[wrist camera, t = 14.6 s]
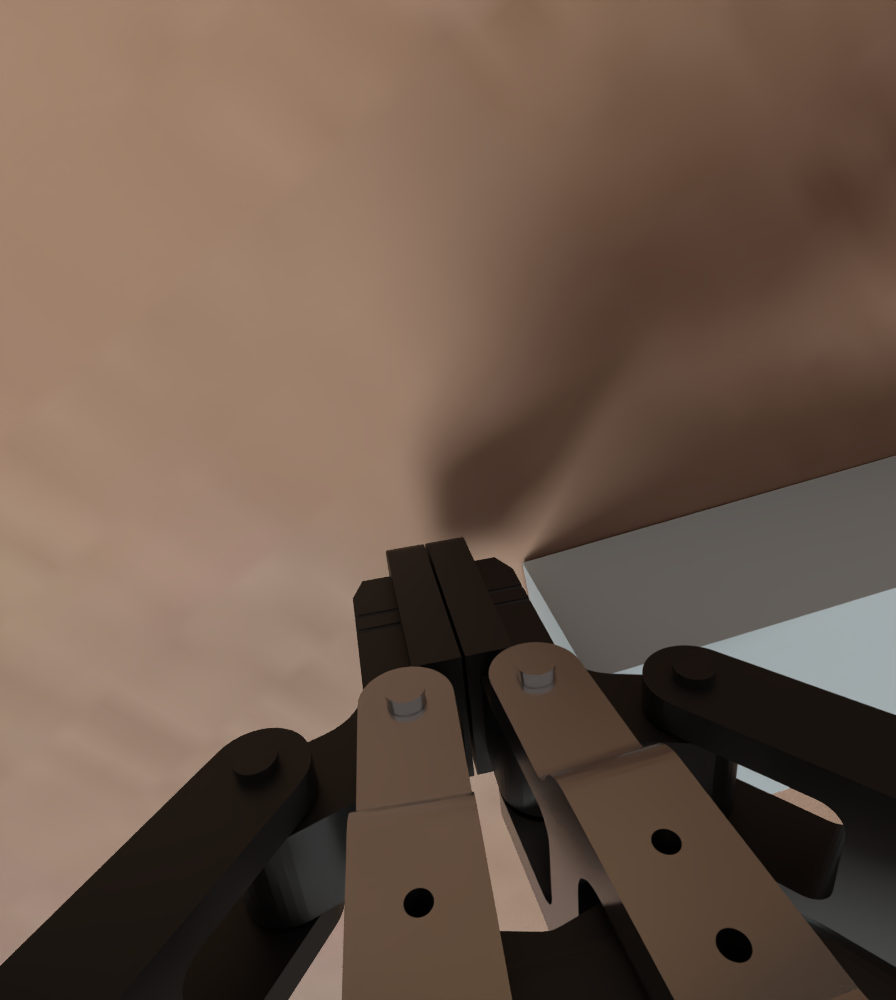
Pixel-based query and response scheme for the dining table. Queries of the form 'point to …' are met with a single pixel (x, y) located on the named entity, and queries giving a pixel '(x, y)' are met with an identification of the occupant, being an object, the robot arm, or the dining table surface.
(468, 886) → the robot arm
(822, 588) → the white rectangular bar
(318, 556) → the dining table surface
